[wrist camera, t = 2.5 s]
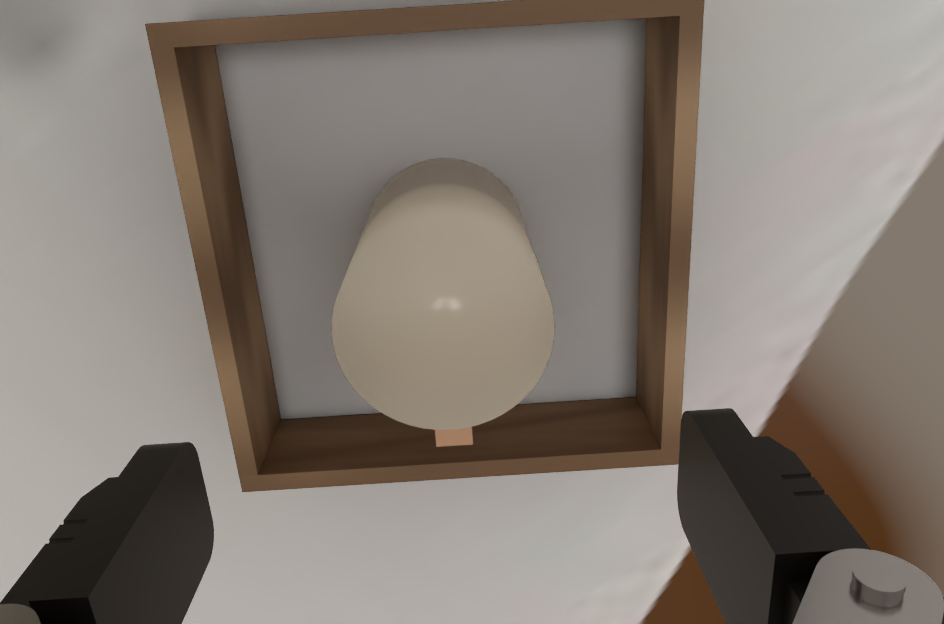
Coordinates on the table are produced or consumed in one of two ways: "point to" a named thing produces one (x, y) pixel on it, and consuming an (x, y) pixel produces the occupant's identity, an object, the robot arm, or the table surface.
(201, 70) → the holder
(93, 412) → the table surface
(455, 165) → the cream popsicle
